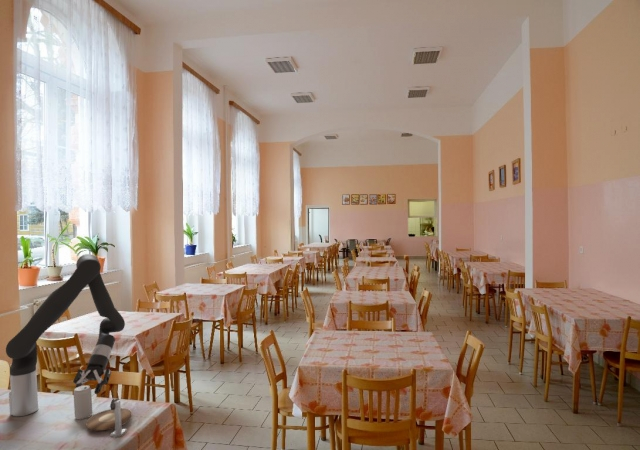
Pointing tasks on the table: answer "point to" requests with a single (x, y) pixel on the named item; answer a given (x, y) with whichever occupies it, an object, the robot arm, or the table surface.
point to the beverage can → (82, 402)
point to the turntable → (107, 419)
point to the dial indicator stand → (117, 418)
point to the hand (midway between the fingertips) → (86, 393)
